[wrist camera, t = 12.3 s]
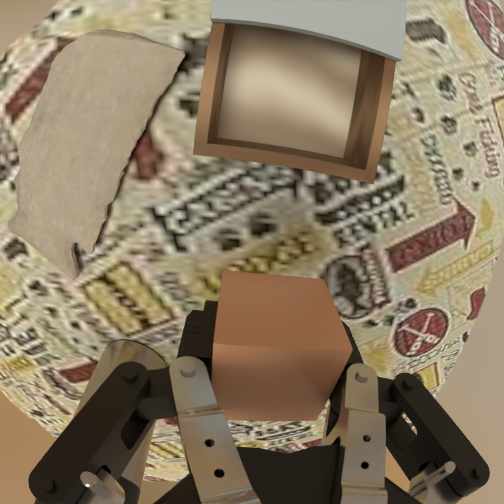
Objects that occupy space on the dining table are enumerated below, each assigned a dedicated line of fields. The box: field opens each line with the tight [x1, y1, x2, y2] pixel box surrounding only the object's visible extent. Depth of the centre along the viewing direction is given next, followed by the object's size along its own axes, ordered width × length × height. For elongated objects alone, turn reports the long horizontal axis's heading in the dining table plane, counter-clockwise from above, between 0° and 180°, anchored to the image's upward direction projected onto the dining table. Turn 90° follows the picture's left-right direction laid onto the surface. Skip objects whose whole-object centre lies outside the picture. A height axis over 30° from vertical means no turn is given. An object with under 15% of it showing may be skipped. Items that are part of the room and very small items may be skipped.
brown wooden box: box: [193, 22, 396, 184], centre depth 17 cm, size 16×12×6 cm
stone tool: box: [8, 30, 185, 280], centre depth 21 cm, size 13×4×25 cm
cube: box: [211, 270, 353, 421], centre depth 12 cm, size 4×4×4 cm
